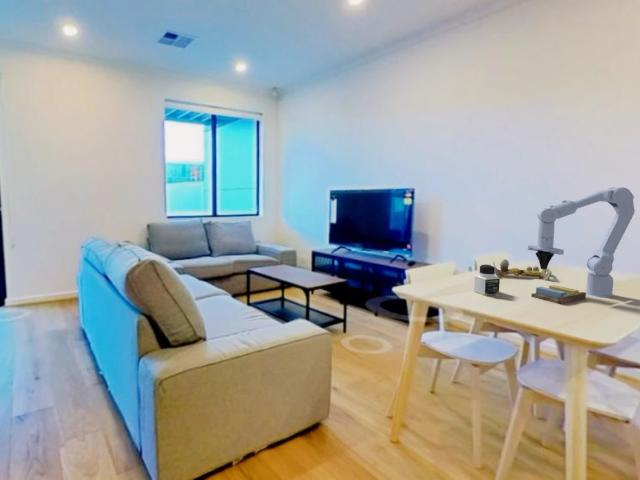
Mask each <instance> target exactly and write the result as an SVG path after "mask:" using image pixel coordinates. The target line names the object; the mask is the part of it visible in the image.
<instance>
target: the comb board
mask: <svg viewBox="0 0 640 480" xmlns="http://www.w3.org/2000/svg"><path fill="white" fill-rule="evenodd" d="M585 292H586V291H584V292H581V291H579V292H577V293H573V294H571V295H569V294H568V295H563V296H562V297H558V299H556V298H552V297H548V296H544V295H540V294H536V292H533V293H531V295H530V296H531V298H535V299H539V300H543V301H546V302H549V303H553V304H557V305H565V304H569V303H573V302H578V301H582V300H586V296H587V295H586V293H585Z"/></svg>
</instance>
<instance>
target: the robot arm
mask: <svg viewBox="0 0 640 480" xmlns="http://www.w3.org/2000/svg"><path fill="white" fill-rule="evenodd" d="M634 198H635V196H634V194H633V193H632V191H631V190H630V189H629V188H626V187H610V188H608V189H602V190H599V191H596V192H594V193H591V194H589V195H586V196H584V197H581V198H579V199H576V200H574V201H573V200H569V199H568V200H566V199H564V200H561V202H560V203H557V204H555V205H549V208H542V209H541V210H540V211H539V212H538V214H537V218H538V220H539V222H538V223H539V224H538V231H537V232H538V233H537V245H531V244H530V245H527V251H534V252H535V256H536V257H537V259H538V263H539V267H540V269H541V270H545V269H547V267H549V263H550V261H551V260H552V258H553V257H554V256H555V254H556V255H559V256H560V255H561V256H562V255H564V253H565V252H564V251H565V249H560V248H556V247H554V239H555V221H556V220H557V219H558V220H560V219H561V218H564V217H567V216H570V215H573V214H575V213H576V211H577V210H578V209H580V208H584V207H586V206H589V205H593V204H595V203H598V202H605V203H606V202H607V204H609V205H610V206H612V208H613V209H614V211H615V212H616V214H615V216H614V217H613V219H612V221H611V223H610V226H609V228H608V230H607V232H606V234H605V235H604V238H603V239H602V242H601V243H600V245H599V248H598V249H597V250H596V251H595V252H594V253H593V255H592V256H591V257H589V258H588V259H587V261H586V267H587V268H588V271H587V278H586V290H585V291H584V292H585V293H586V296H591V297H595V298H599V299H601V298H602V299H603V298H607V297H612V296H615V294H614V293H613V290H614V289H613V288H614V278H613V276H612V275H611V273H612V271H613V263H614V261H615V257H614V253H615V252H616V249H618V246H619V245H620V242H621V240H622V238H623V236H624V234H625V232H626V230H627V228H628V226H629V224H630V222H631V220H632V219H633V216H634V215H635V213H636V212H635V205H634V204H635V203H634Z"/></svg>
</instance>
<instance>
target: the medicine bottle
mask: <svg viewBox="0 0 640 480" xmlns="http://www.w3.org/2000/svg"><path fill="white" fill-rule="evenodd" d="M495 267H496V265H495V266H493V264H481V265H480V266H479V274H476V275H474V284H473V285H474V286H473V291H474V293H477V294H480V295H482V296H485V297H486V296H494V295H495V296H496V295H498V294H499V293H500V280H501V278H499V277H497V276H496V274H495Z"/></svg>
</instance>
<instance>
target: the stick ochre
mask: <svg viewBox="0 0 640 480" xmlns="http://www.w3.org/2000/svg"><path fill="white" fill-rule="evenodd" d="M548 288H549V289H554V290H558V291H562V292H566V295H568V294H569V295H571V294H573V293H577V292H580V290H578V289H574V288H569V287H565V286H559V285H556V284H552V285H548Z"/></svg>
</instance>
